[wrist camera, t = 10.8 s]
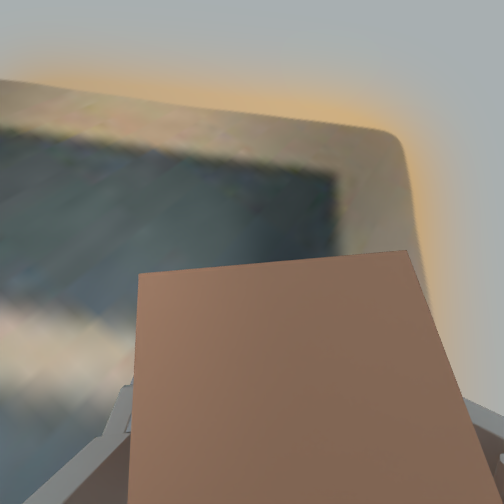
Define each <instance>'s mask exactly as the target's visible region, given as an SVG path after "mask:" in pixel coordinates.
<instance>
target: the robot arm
mask: <svg viewBox="0 0 504 504" xmlns="http://www.w3.org/2000/svg"><path fill="white" fill-rule="evenodd" d="M463 400H464V402H465V405H466V408H467V410H468V413H469V415H470V418H471V421H472V423H473V426H474V429H475V431H476V434H477V437H478V439H479V442H480V444H481V447H482V450H483V452H484V455H485V458H486V460H487V463H488V465H489V468H490V471H491V473H492V476H493V479H494V481H495V484H496V486H497V489H498V492H499V494H500V497H501V500H502V502H503V504H504V416H501V415H499V414H497V413H495V412H493V411H491V410H489V409H487V408H484V407H482V406H480V405H478V404H476V403H474V402H471V401H470V400H467V399H465V398H463ZM132 401H133V385H124V386H123V387H122V388H121V390H120V392H119V394H118V397H117V399H116V402H115V404H114V407H113V409H112V412H111V414H110V417H109V419H108V422H107V424H106V427H105V429H104V432H103V434H102V436H101V437H95V438H94V439H93V440H92V441H91V442H90V443H89V444H88V445H87V446H85V447H84V448H83V449H82V450H81V451H80V452H79V453H78V454H77V455H75V456H74V457H73V458H72V459H71V460H70V461H69V462H68V463H67V464H66V465H64V466H63V467H62V468H61V469H60V470H59V471H58V472H57V473H56V474H55V475H53V476H52V477H51V478H50V479H49V480H48V481H47V482H46V483H45V484H43V485H42V486H41V487H40V488H39V489H38V490H37V491H36V492H35V493H34V494H32V495H31V496H30V497H29V498H28V499H27V500H26V501H25V502H24V503H22V504H127V500H128V480H129V460H130V441H131V421H132Z"/></svg>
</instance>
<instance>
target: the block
mask: <svg viewBox="0 0 504 504" xmlns="http://www.w3.org/2000/svg"><path fill="white" fill-rule="evenodd" d="M127 504H503V502H502V500H501V497H500V494H499V492H498V489H497V486H496V484H495V481H494V479H493V476H492V473H491V471H490V468H489V465H488V463H487V460H486V458H485V455H484V452H483V450H482V447H481V444H480V442H479V439H478V437H477V434H476V431H475V429H474V426H473V423H472V421H471V418H470V415H469V413H468V410H467V408H466V405H465V402H464V400H463V397H462V395H461V392H460V389H459V387H458V384H457V381H456V379H455V376H454V374H453V371H452V368H451V366H450V363H449V361H448V358H447V355H446V353H445V350H444V347H443V345H442V342H441V339H440V337H439V334H438V331H437V329H436V326H435V323H434V321H433V318H432V316H431V313H430V310H429V308H428V305H427V302H426V300H425V297H424V295H423V292H422V289H421V287H420V284H419V281H418V279H417V276H416V274H415V271H414V268H413V266H412V263H411V260H410V258H409V255H408V253H407V250H402V251H390V252H379V253H368V254H357V255H345V256H334V257H323V258H311V259H300V260H289V261H278V262H266V263H255V264H244V265H232V266H221V267H210V268H199V269H187V270H176V271H165V272H153V273H142V274H139V283H138V303H137V322H136V342H135V362H134V381H133V401H132V421H131V441H130V460H129V480H128V500H127Z"/></svg>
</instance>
